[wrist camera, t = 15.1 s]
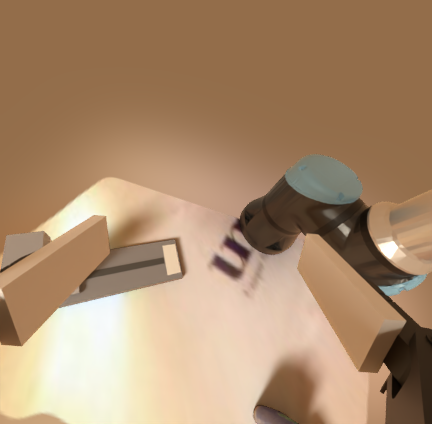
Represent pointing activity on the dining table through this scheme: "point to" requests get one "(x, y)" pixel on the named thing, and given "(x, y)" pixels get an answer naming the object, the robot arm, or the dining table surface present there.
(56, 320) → the dining table surface
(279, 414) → the flask
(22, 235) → the lever
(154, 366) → the dining table surface
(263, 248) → the robot arm
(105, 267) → the switch board
